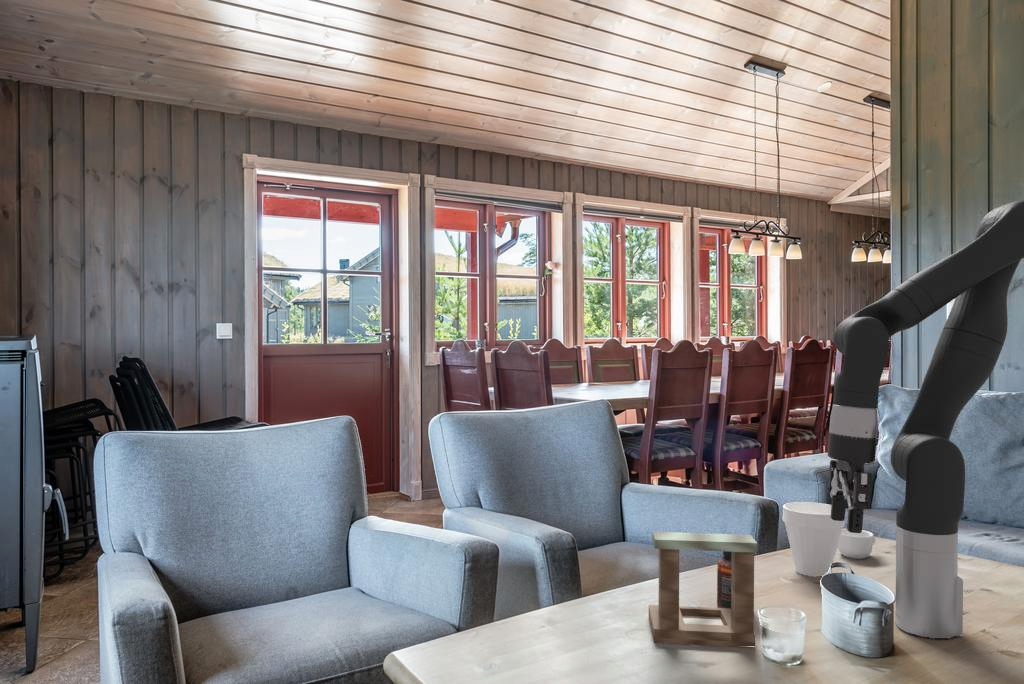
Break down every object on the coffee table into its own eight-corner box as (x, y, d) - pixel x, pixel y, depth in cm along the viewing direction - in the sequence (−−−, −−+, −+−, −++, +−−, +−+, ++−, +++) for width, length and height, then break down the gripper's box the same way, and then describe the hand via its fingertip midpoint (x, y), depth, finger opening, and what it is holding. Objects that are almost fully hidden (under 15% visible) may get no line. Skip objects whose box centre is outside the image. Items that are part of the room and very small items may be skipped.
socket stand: (741, 621, 129) (742, 524, 129) (756, 650, 117) (757, 543, 117) (648, 617, 130) (649, 521, 130) (654, 645, 119) (654, 539, 118)
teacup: (854, 562, 164) (855, 538, 164) (828, 553, 171) (828, 530, 171) (888, 558, 167) (888, 534, 167) (860, 549, 175) (861, 526, 175)
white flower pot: (825, 585, 148) (826, 517, 148) (770, 570, 158) (771, 506, 158) (855, 573, 156) (855, 509, 156) (801, 559, 165) (801, 499, 165)
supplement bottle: (753, 617, 131) (753, 553, 131) (718, 614, 132) (718, 551, 132) (749, 605, 137) (749, 544, 137) (715, 603, 138) (716, 542, 138)
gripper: (892, 440, 119) (884, 539, 120) (860, 429, 134) (853, 518, 134) (844, 435, 120) (836, 534, 120) (817, 425, 134) (810, 514, 135)
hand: (845, 526), depth 127 cm, fingers open, 8 cm apart
